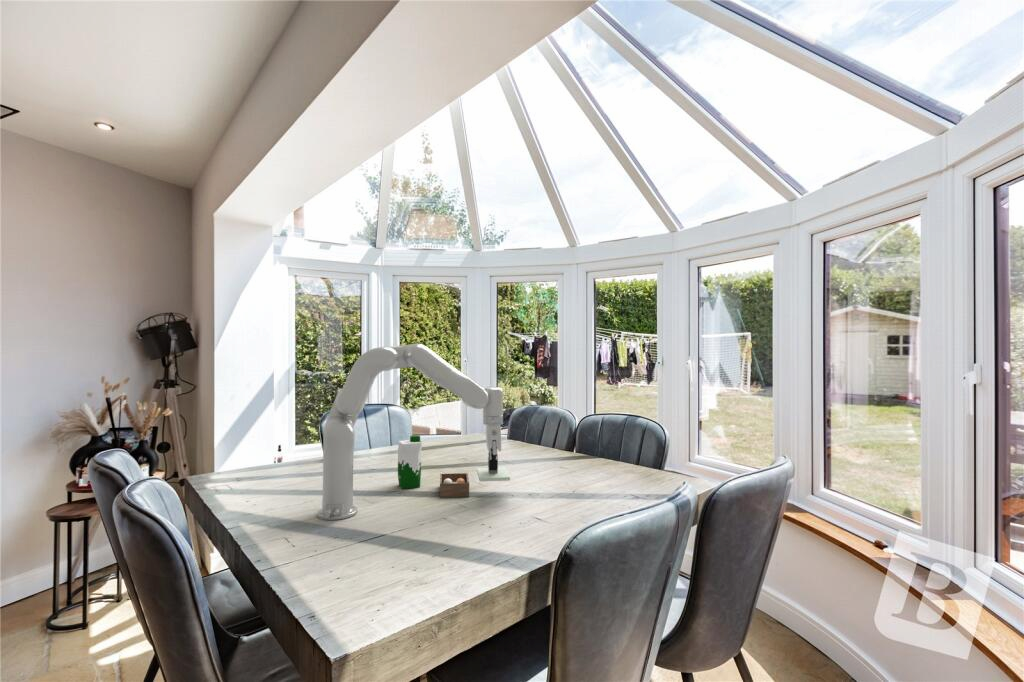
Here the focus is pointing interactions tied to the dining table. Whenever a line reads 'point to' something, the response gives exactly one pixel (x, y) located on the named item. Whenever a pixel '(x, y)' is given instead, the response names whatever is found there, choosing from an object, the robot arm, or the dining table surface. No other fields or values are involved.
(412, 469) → the milk carton
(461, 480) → the ball terracotta
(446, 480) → the ball cream
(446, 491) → the box
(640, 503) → the dining table surface
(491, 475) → the lid
